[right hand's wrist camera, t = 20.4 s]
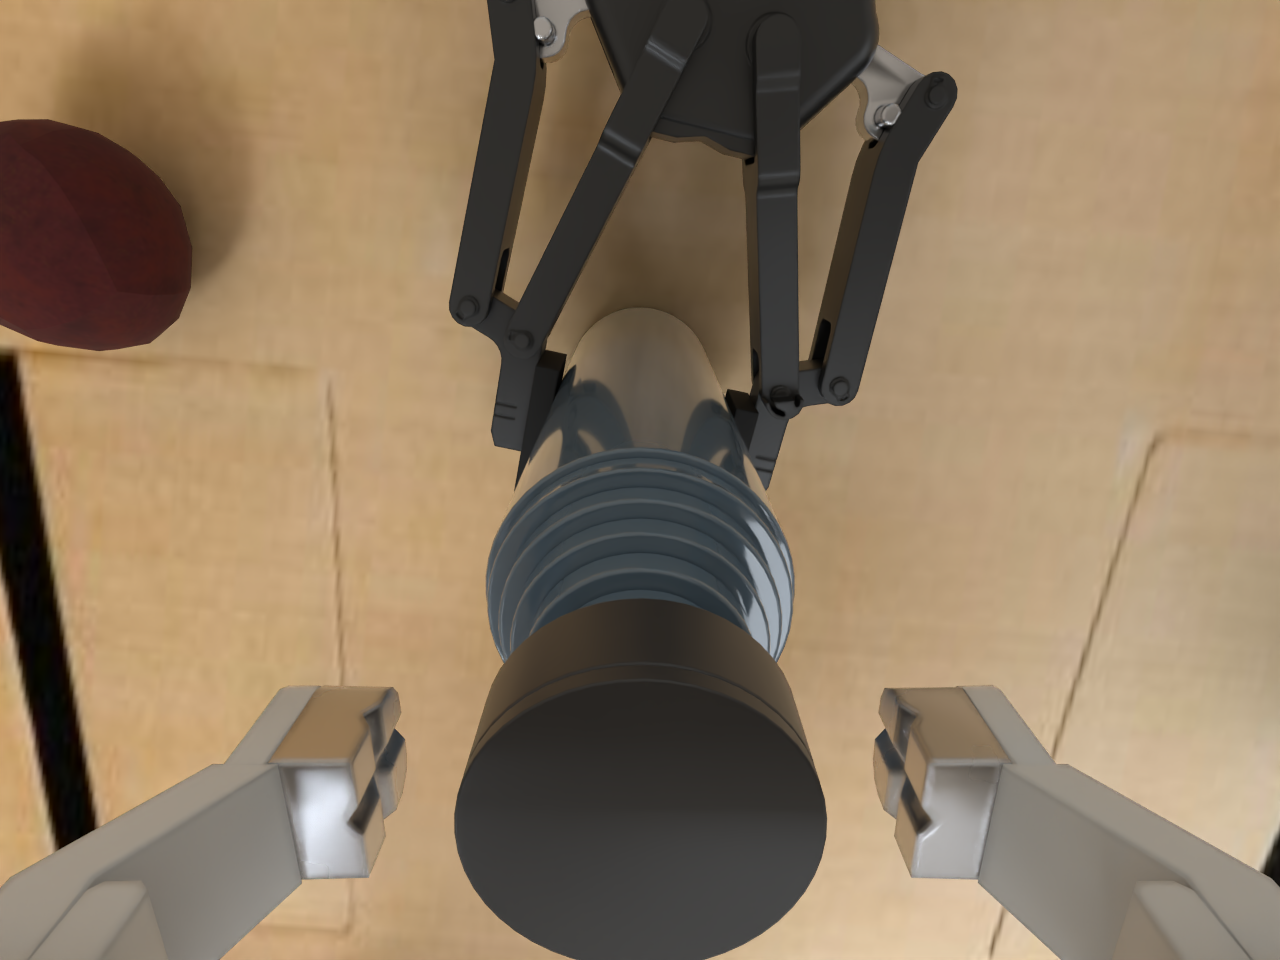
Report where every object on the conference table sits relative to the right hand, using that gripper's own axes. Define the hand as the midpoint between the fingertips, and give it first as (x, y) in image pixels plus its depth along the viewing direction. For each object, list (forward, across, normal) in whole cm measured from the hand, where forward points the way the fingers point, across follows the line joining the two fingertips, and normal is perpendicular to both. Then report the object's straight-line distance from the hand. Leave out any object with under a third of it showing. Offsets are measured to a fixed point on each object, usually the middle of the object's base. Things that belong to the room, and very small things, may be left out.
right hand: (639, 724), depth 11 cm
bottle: (+22, 0, 0) cm, 22 cm away
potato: (+22, -20, +6) cm, 30 cm away
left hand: (+16, -1, -5) cm, 17 cm away
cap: (-2, 0, 0) cm, 2 cm away
